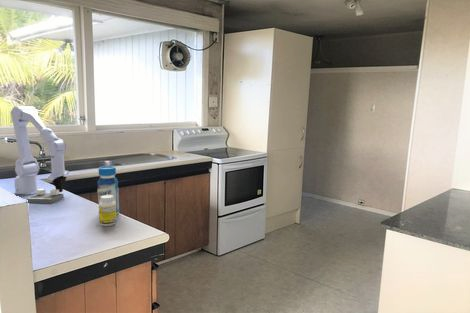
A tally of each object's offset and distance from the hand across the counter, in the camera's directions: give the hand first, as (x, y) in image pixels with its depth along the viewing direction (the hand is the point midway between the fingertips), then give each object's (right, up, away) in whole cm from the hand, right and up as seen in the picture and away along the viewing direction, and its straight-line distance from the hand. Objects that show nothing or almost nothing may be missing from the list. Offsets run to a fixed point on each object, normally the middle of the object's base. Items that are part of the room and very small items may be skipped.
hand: (59, 191), depth 176 cm
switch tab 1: (-7, -1, -3) cm, 8 cm away
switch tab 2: (0, -1, -4) cm, 4 cm away
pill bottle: (+37, -9, -36) cm, 53 cm away
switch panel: (-4, -3, -5) cm, 7 cm away
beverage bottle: (+33, -7, -24) cm, 41 cm away
